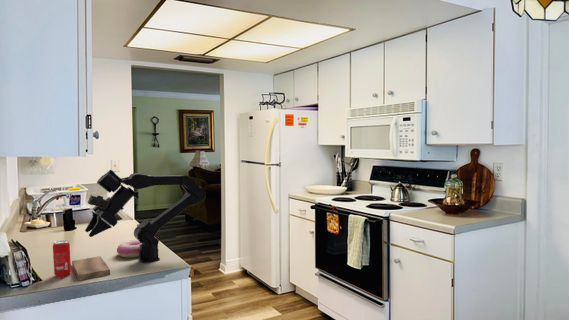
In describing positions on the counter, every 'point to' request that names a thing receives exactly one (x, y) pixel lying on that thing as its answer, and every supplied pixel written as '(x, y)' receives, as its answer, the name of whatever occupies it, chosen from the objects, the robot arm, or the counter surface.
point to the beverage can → (61, 259)
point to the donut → (129, 249)
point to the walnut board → (90, 268)
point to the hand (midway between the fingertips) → (87, 233)
